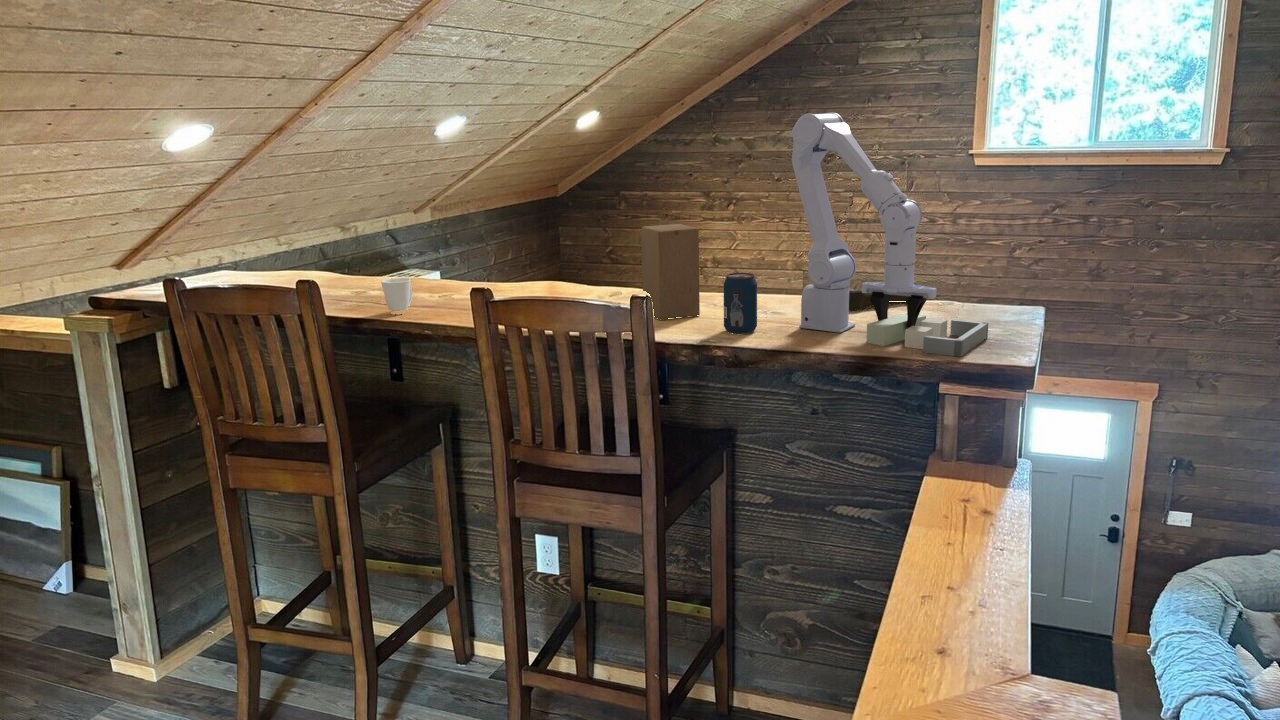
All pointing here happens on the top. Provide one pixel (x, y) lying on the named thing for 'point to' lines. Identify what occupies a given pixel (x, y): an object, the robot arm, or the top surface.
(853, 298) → the hand tool
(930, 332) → the block
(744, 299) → the soda can
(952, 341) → the grey frame
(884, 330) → the sage green beam
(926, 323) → the block
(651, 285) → the wooden block
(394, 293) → the cup
